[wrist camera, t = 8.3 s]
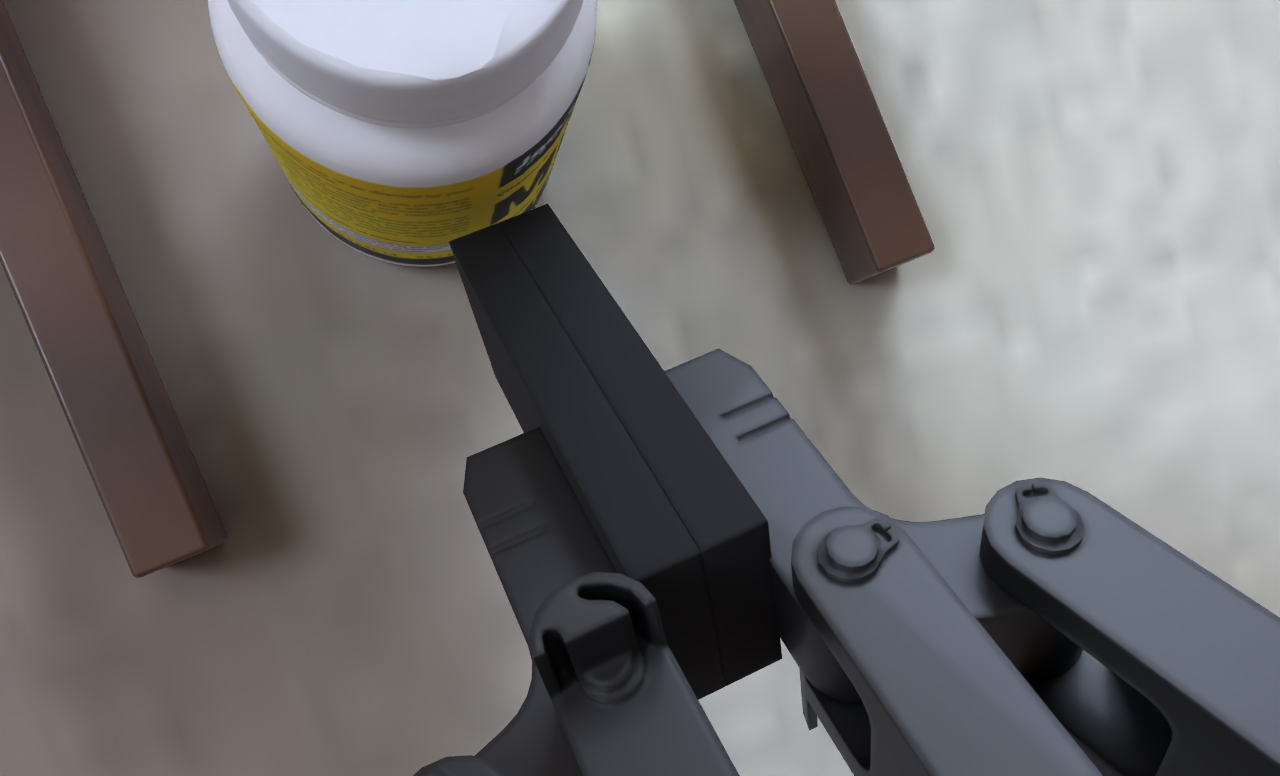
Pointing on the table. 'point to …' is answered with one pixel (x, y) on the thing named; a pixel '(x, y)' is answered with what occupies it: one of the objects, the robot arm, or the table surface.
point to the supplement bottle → (409, 109)
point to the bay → (120, 360)
